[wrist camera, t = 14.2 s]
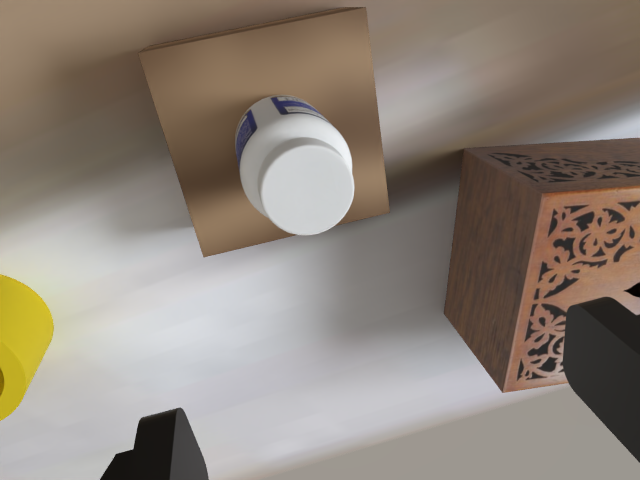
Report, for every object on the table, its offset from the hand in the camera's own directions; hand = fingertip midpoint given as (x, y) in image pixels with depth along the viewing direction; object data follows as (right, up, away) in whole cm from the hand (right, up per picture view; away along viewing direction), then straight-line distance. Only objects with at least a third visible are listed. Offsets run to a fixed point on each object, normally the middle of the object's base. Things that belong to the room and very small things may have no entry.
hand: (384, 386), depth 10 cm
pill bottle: (-4, +9, +18) cm, 21 cm away
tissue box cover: (+22, +4, +32) cm, 39 cm away
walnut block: (-5, +11, +22) cm, 25 cm away
